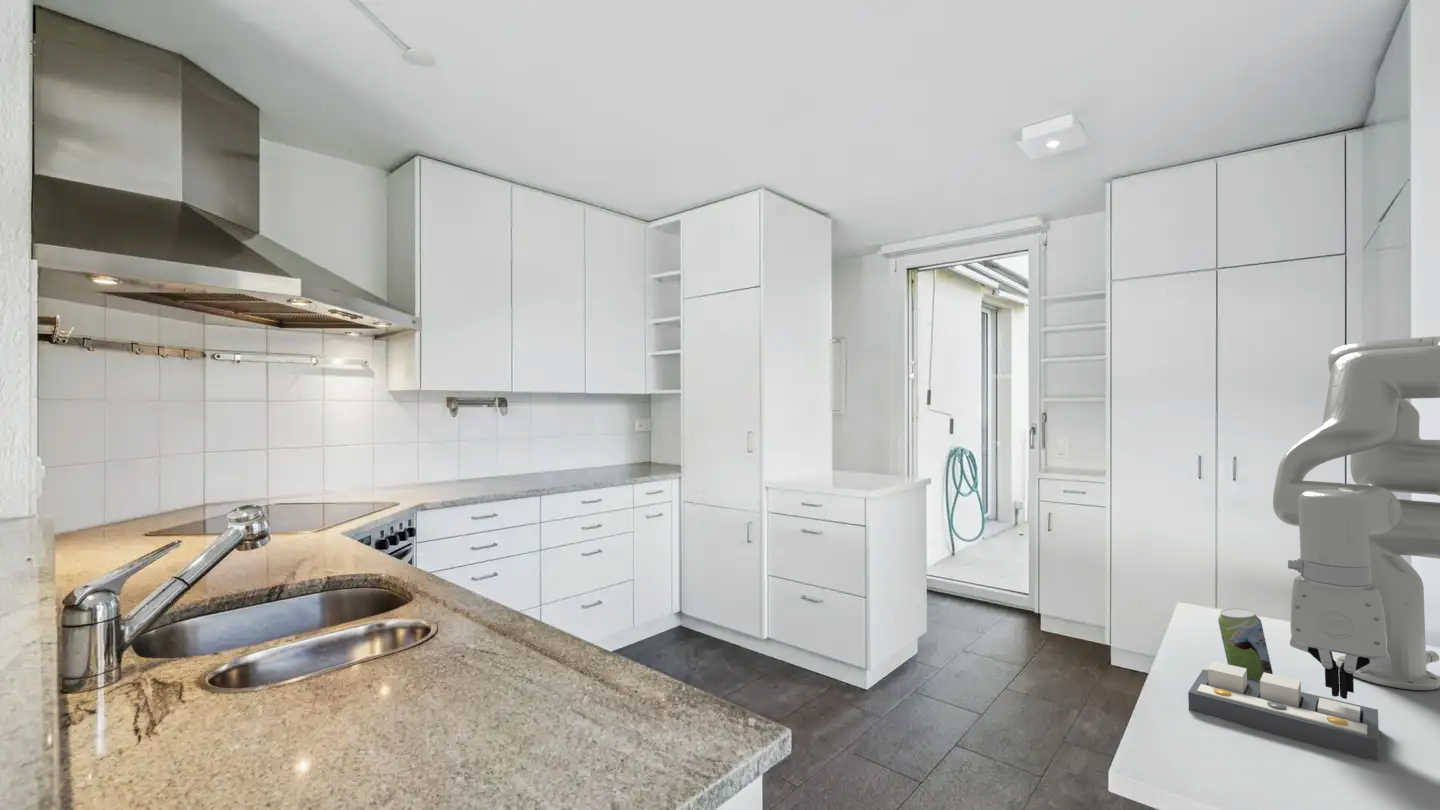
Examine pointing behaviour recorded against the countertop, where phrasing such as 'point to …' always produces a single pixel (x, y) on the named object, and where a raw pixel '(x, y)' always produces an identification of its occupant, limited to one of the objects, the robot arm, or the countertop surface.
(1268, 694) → the middle key
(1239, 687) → the left key
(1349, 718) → the right key
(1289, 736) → the board
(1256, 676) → the beverage can
